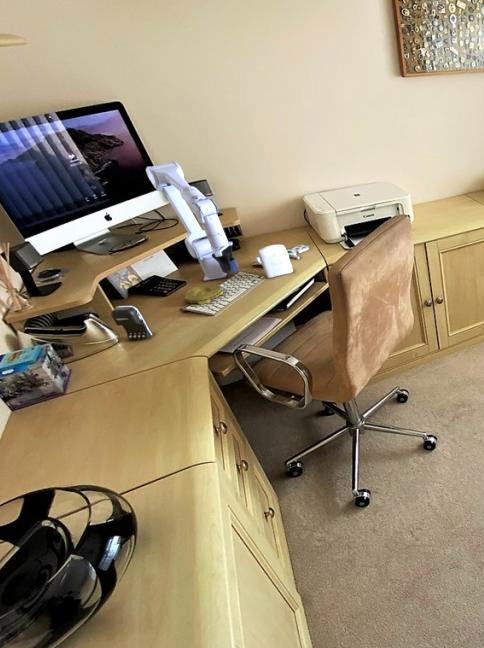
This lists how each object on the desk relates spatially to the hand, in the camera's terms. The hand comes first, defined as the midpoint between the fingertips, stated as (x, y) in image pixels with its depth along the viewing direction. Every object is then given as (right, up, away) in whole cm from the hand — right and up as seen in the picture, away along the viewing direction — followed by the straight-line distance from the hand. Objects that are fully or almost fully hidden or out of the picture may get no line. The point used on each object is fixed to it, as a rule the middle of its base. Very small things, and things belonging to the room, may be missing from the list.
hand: (229, 266), depth 162 cm
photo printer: (+13, -1, +13) cm, 18 cm away
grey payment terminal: (-14, -27, -24) cm, 38 cm away
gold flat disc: (-8, -12, -2) cm, 14 cm away
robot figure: (+7, +8, +28) cm, 30 cm away
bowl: (0, -1, +1) cm, 2 cm away
